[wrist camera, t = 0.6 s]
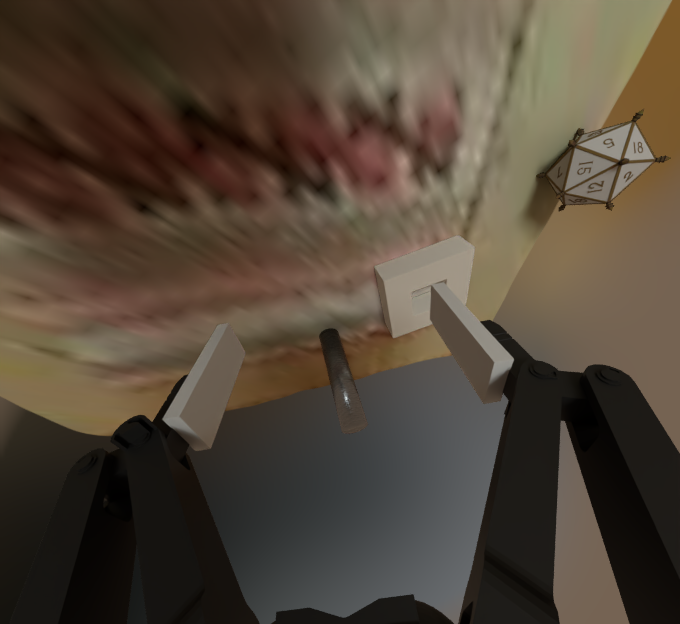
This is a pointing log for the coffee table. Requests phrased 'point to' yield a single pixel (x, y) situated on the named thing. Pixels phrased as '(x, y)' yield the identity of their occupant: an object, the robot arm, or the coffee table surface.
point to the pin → (342, 383)
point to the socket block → (422, 282)
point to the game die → (601, 164)
